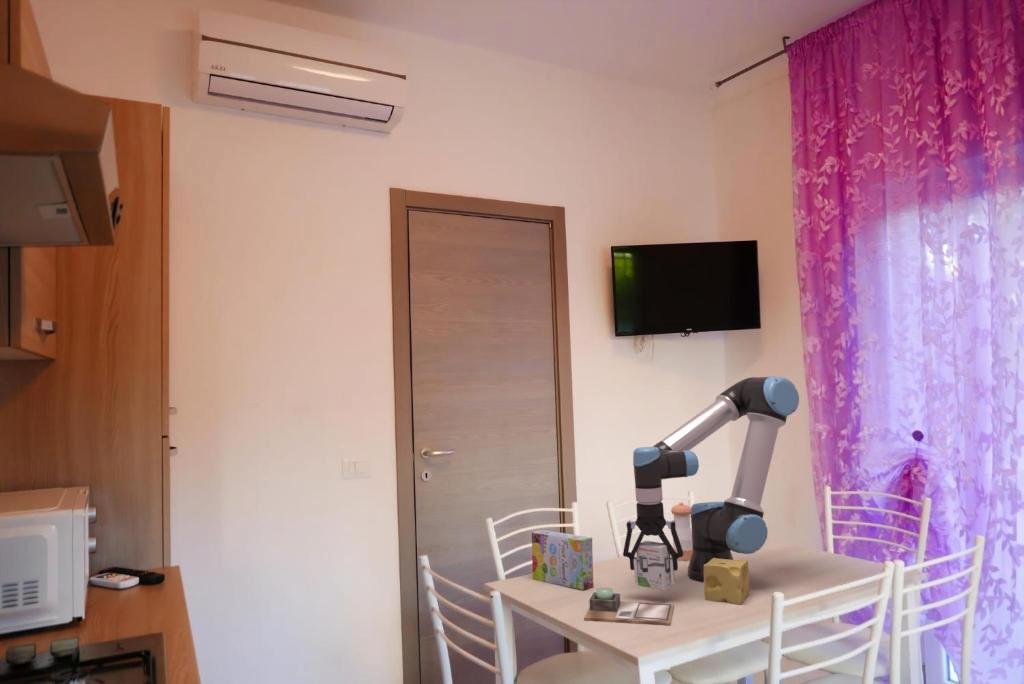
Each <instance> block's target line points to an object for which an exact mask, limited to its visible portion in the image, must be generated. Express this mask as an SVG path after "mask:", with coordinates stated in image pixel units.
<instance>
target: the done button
mask: <svg viewBox="0 0 1024 684" xmlns="http://www.w3.org/2000/svg"><path fill="white" fill-rule="evenodd" d="M613 591H614V589H612V588H610V587H599V588H597V589H596V592H597V599H604V600H613V593H614V592H613Z"/></svg>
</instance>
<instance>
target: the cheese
mask: <svg viewBox="0 0 1024 684" xmlns="http://www.w3.org/2000/svg"><path fill="white" fill-rule="evenodd" d="M703 573H704V582H703V591H704V598H705V601H711V602H727V603H728V604H734V605H738V606H739V605H742V603H743V601H745V600H746V599H747V598H748V597H749V592H750V569H749V561H748V560H747V559H746V560H744V559H734V560H728V559H718V558H713V559H711V560H710V561H709V562H708V563H706V564H705V565H704V571H703Z"/></svg>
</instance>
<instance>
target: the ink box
mask: <svg viewBox="0 0 1024 684" xmlns="http://www.w3.org/2000/svg"><path fill="white" fill-rule="evenodd" d="M636 557H637V572H638V583H637V585H638V586H639V587H645V588H652V589H656V590H657V589H658V590H666V589H668V588H670V587H672V586H673V585H672V584H673V583H671V570H670V557H671V555H670V553H669V552H668V550H667V546H666V545H664V543H663V542H657V541H649V540H642V541H641V543H640V545H639V547H638V549H637V551H636Z"/></svg>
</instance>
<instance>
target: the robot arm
mask: <svg viewBox="0 0 1024 684" xmlns="http://www.w3.org/2000/svg"><path fill="white" fill-rule="evenodd" d="M799 404H800V394H799V391H798V389H797V388H796V385H795V384H794V383H793V382H792V381H791V380H790V379H789V378H786V377H782V376H776V375H774V376H772V375H771V376H759V377H757V376H755V377H754V376H753V377H747V378H744V379H742V380H740V381H738V382H736V383H734V384H733V385H731V386H730V387H728V388H726V389H725V390H724V391H723V392H721V393H719V395H717V396H716V397H715V401H714V402H713V403H711V404H710V405H709V406H707V407H706V408H704V409H703V410H701V411H700V412H698V414H696V415H695V416H693V417H692V418H691V419H689V420H688V421H686V422H685V423H684V424H682V425H680V427H678V428H677V429H675V430H674V431H673V432H672V433H670V434H669V435H666V436H665V437H664V438H663V439H662V440H660V441H659V442H657V443H656V444H654V445H653V446H643V447H641V446H640V447H636V448H635V449H634V450H633V452H632V453H633V454H632V457H633V458H632V460H633V461H632V463H633V464H632V466H633V473H634V474H633V476H634V483H635V484H634V490H635V501H636V504H635V506H636V520H633V521H632V520H628V521H627V522H626V530H627V531H626V536H625V542H624V547H623V550H622V551H623V552H622V556H623V557H627V558H629V567H630V568H629V569H630V571H634V574H633V575H634V583H636V584H638V572H637V556H635V555H637V552H636V551H637V549H638V547H639V545H640V543H641V542H643V539H644V536H647V537H649V536H658V537H659V539H660V540H661V541H662V542H661V543H664V545H666V546H667V550H668V552H669V553H670V570H671V583H672V584H675V583H676V582H675V579H676V578H675V571H678V568H679V566H678V565H679V564H678V560H677V559H678V558H680V557H683V550H682V547H681V544H680V541H679V538H678V535H677V532H676V529H675V528H676V522H675V521H674V519H673V520H670V521H669V520H666V518H665V513H664V512H665V511H664V503H663V502H662V501H663V499H664V498H663V483H662V480H667V479H677V478H688V477H693V476H696V474H697V473H698V471H699V467H700V465H699V458H698V456H697V455H696V453H695V452H694V451H693V450H692V449H693V448H694V447H696V446H698V445H699V444H700V443H702V442H703V441H704V440H706V439H707V438H709V437H710V436H711V435H713V434H714V433H715V432H717V431H719V429H722V427H724V426H725V425H726V424H727V423H729V422H736V421H737V420H739V419H740V418H742V417H744V416H745V417H747V419H748V420H749V424H748V426H747V427H748V428H747V430H746V431H747V432H746V436H745V439H744V443H743V448H742V451H741V456H740V459H739V463H738V466H737V467H738V468H737V472H736V476H735V479H734V483H733V487H732V492H731V495H730V497H729V498H727V499H725V500H724V501H709V502H708V501H706V502H698V503H694V504H692V505H691V507H690V508H691V514H690V527H691V533H692V547H693V551H692V555H691V559H690V560H689V563H688V566H687V577H688V578H689V579H691V580H694V581H698V582H703V583H704V573H703V571H704V565H705V564H706V563H708V562H709V561H710V560H711V559H713V558H718V559H728V560H735V559H734V557H733V555H732V552H734V553H737V554H744V555H750V554H754V553H756V552H757V551H759V550H761V549H762V547H763V546H764V545H765V543H766V541H767V538H768V535H769V534H768V530H769V529H768V527H767V526H766V525H767V524H766V521H765V520H764V515H765V511H764V510H763V508H762V506H761V504H762V500H763V495H764V491H765V486H766V482H767V479H768V474H769V471H770V466H771V462H772V459H773V453H774V449H775V447H776V446H775V445H776V442H777V438H778V432H779V429H780V428H782V427H783V426H786V421H787V418H788V417H789V416H790V415H792V414H794V413H795V412H796V411H797V409H798V407H799V406H800V405H799ZM666 526H667V528H668V530H670V533H671V536H672V541H673V540H674V543H675V546H676V549H677V553H676V552H675V551H674V549H673V547H674V546H672V544H671V543H670V541H669V539H668V537H667V536H666V533H665V532H664V528H665V527H666ZM635 527H637V528H638V529H639V530H640V533H639V535H638V537H637V539H636V542H635V544H634V545H633V548H632V550H631V552H630V551H629V550H630V545H631V539H632V534H633V530H634V529H635ZM731 551H732V552H731Z"/></svg>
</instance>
